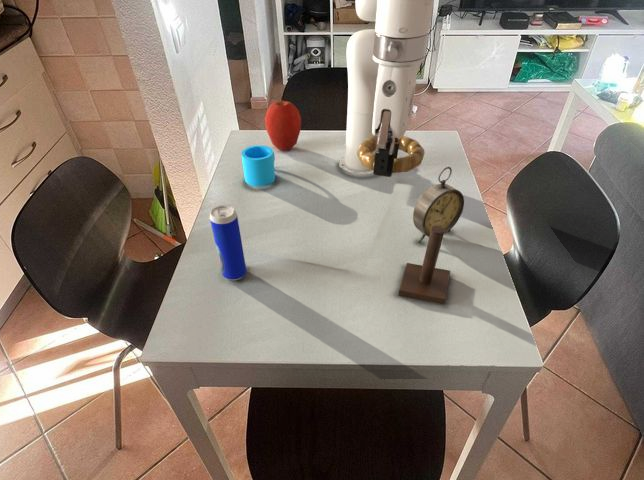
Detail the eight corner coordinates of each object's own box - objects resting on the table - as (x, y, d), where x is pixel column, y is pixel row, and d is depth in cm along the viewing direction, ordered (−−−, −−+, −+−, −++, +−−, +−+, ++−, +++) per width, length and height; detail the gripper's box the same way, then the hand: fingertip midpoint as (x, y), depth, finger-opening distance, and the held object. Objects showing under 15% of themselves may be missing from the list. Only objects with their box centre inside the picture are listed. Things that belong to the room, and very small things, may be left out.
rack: (405, 268, 91) (417, 212, 81) (448, 276, 89) (465, 219, 79) (398, 295, 86) (409, 239, 75) (443, 304, 84) (461, 248, 73)
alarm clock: (419, 248, 95) (434, 179, 83) (404, 236, 98) (417, 168, 86) (457, 234, 98) (477, 166, 86) (442, 222, 102) (459, 155, 89)
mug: (266, 192, 112) (263, 162, 106) (239, 186, 114) (235, 156, 108) (287, 172, 119) (285, 142, 113) (261, 166, 121) (258, 137, 115)
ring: (366, 142, 83) (367, 129, 81) (427, 149, 80) (429, 136, 79) (350, 170, 76) (350, 156, 74) (416, 179, 73) (418, 166, 71)
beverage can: (223, 267, 93) (209, 204, 81) (246, 265, 93) (236, 203, 81) (222, 282, 89) (207, 220, 78) (246, 281, 89) (236, 218, 78)
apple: (307, 144, 129) (306, 94, 119) (291, 158, 124) (288, 107, 113) (278, 138, 133) (274, 88, 122) (261, 151, 127) (256, 100, 116)
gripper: (416, 67, 56) (396, 196, 70) (434, 33, 65) (413, 153, 79) (360, 62, 57) (352, 190, 71) (386, 30, 67) (374, 148, 81)
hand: (384, 169), depth 75 cm, fingers closed on ring, 2 cm apart
